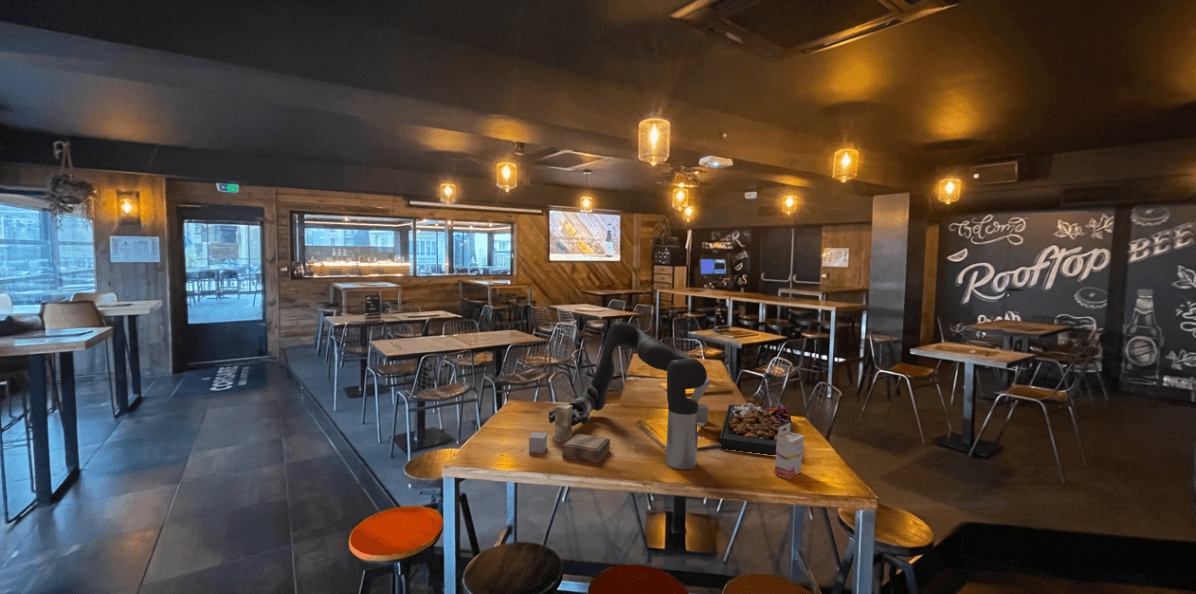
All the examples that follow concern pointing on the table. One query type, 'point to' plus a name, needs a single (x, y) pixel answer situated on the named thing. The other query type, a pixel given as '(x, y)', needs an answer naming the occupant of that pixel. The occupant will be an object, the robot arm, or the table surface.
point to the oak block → (563, 422)
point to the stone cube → (538, 442)
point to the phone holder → (701, 408)
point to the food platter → (753, 428)
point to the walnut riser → (586, 448)
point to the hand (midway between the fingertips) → (561, 421)
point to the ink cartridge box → (788, 452)
